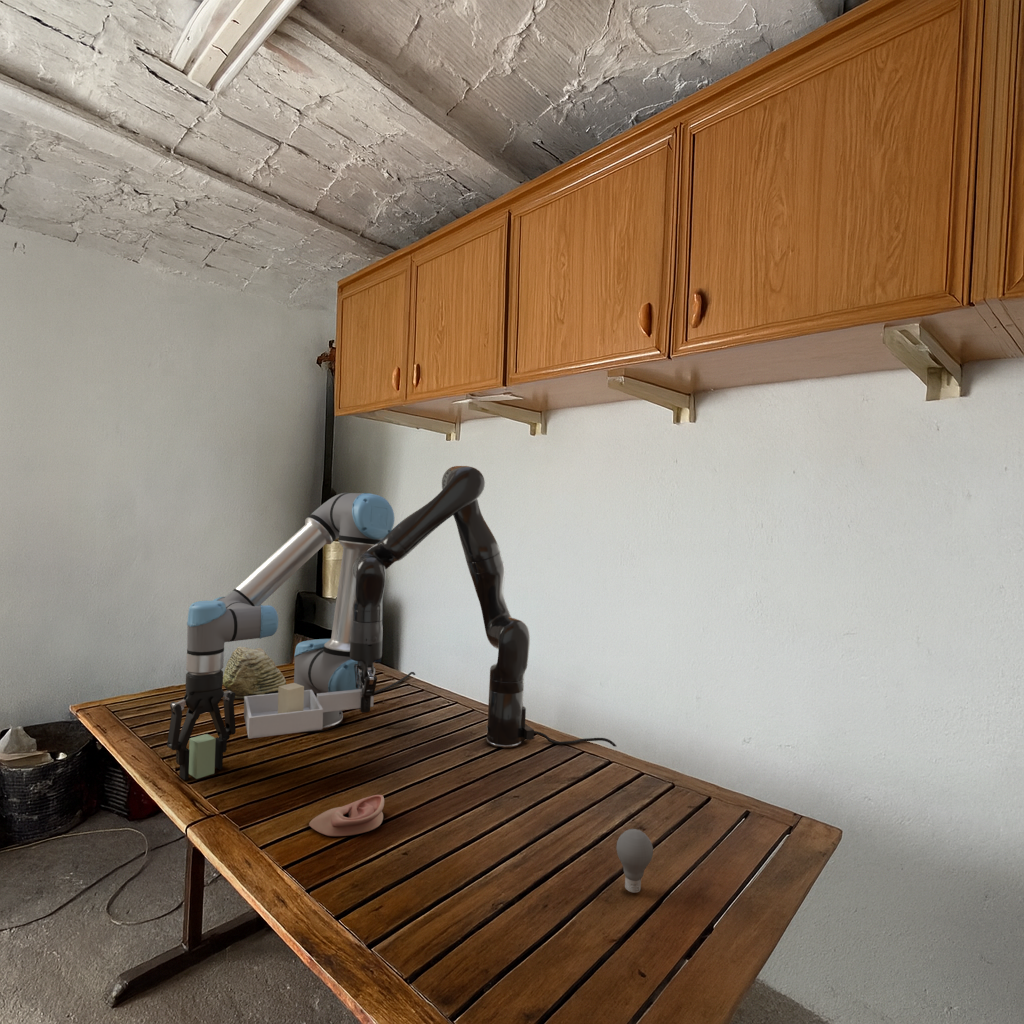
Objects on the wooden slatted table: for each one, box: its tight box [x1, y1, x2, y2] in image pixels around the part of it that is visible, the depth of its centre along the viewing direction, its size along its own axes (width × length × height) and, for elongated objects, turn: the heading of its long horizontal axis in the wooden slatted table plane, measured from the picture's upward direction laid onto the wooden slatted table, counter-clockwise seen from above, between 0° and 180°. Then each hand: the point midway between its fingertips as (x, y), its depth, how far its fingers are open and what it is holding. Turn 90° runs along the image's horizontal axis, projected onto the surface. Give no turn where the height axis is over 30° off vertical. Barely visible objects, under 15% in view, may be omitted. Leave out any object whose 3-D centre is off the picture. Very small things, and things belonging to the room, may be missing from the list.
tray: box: [243, 689, 375, 740], centre depth 147 cm, size 28×15×6 cm, turn 116°
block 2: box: [278, 682, 304, 714], centre depth 143 cm, size 4×4×8 cm
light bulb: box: [615, 828, 654, 894], centre depth 106 cm, size 6×6×10 cm
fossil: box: [222, 646, 287, 699], centre depth 198 cm, size 9×18×15 cm, turn 132°
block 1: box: [188, 733, 217, 780], centre depth 142 cm, size 4×4×8 cm
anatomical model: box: [308, 794, 385, 837], centre depth 124 cm, size 13×4×12 cm
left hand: (201, 772), depth 142 cm, fingers open, 7 cm apart
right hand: (364, 710), depth 152 cm, fingers closed on tray
